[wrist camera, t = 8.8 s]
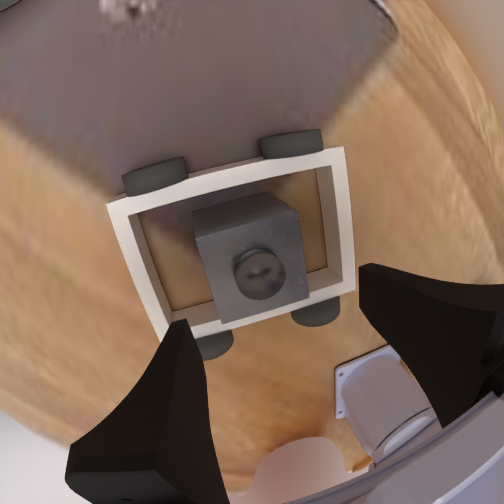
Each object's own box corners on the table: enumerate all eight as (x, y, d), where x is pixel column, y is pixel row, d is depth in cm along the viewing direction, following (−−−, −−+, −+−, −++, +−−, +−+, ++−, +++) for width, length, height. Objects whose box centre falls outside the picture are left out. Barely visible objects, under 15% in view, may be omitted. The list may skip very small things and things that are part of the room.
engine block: (280, 259, 21) (315, 305, 15) (212, 279, 20) (223, 333, 15) (267, 191, 19) (303, 215, 13) (192, 211, 18) (195, 244, 13)
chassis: (340, 287, 23) (363, 310, 20) (169, 337, 21) (168, 369, 18) (322, 127, 18) (349, 126, 15) (110, 177, 16) (94, 186, 13)
